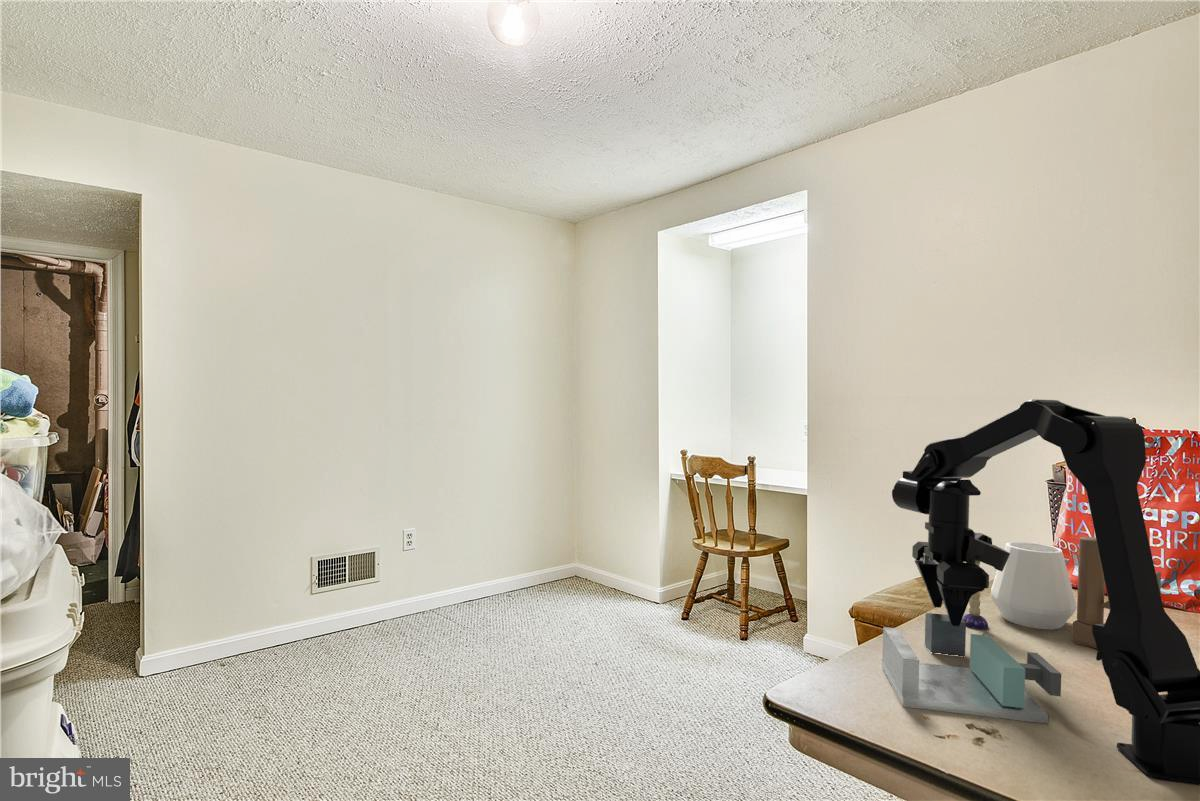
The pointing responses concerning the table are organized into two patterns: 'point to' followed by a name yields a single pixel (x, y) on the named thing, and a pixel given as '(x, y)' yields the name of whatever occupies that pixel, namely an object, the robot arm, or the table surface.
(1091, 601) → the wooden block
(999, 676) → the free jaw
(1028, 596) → the white faceted vase
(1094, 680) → the table surface
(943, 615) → the steel block
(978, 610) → the toy lamp
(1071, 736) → the table surface
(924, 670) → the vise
